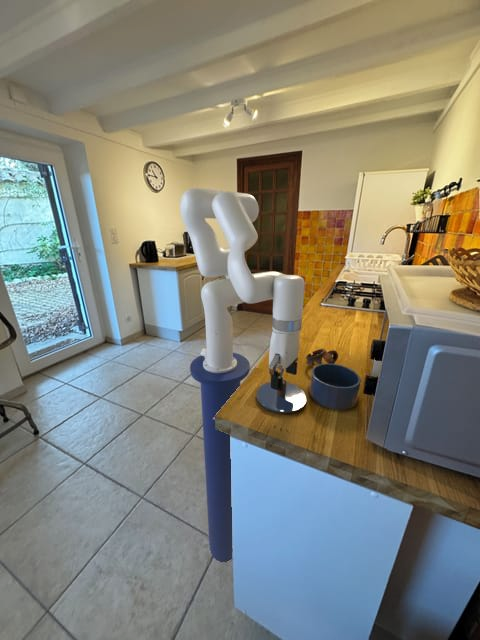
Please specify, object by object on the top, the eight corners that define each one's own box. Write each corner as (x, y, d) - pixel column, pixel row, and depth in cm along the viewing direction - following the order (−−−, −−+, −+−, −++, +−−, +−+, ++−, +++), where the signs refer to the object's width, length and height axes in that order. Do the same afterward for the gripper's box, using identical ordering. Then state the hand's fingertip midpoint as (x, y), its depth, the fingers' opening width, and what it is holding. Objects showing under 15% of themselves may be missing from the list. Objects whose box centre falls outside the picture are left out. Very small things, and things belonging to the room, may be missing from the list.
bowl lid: (247, 402, 72) (247, 385, 70) (270, 379, 83) (271, 364, 81) (294, 422, 64) (296, 404, 63) (313, 394, 76) (315, 377, 74)
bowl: (302, 399, 74) (305, 378, 71) (317, 378, 84) (319, 359, 82) (351, 416, 67) (355, 394, 64) (360, 391, 77) (364, 371, 75)
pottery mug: (325, 381, 83) (314, 358, 83) (307, 379, 92) (298, 358, 91) (349, 364, 88) (339, 342, 87) (330, 363, 96) (321, 344, 96)
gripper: (287, 313, 75) (284, 364, 80) (257, 330, 61) (257, 391, 66) (312, 317, 71) (307, 371, 76) (286, 337, 57) (283, 401, 62)
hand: (284, 380), depth 71 cm, fingers open, 9 cm apart
